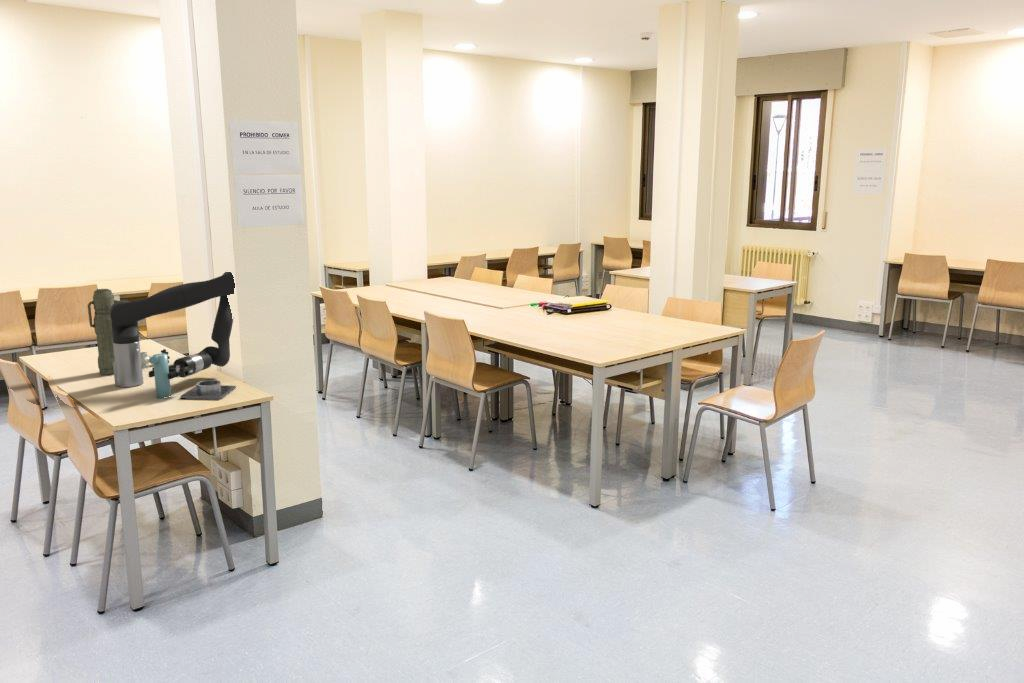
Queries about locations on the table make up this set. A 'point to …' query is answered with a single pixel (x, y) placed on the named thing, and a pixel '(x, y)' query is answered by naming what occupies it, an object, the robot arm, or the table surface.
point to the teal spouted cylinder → (161, 375)
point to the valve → (146, 359)
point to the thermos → (103, 329)
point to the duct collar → (208, 390)
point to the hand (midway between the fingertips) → (158, 375)
